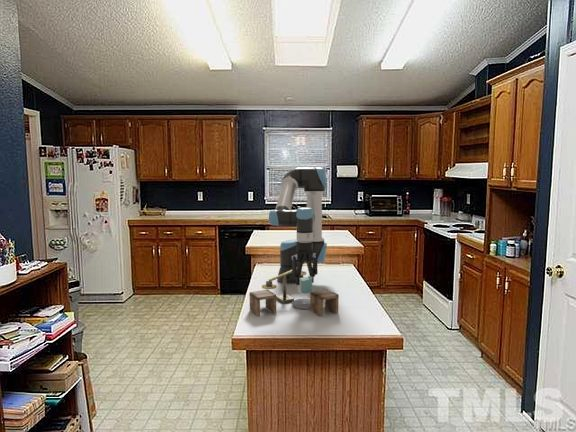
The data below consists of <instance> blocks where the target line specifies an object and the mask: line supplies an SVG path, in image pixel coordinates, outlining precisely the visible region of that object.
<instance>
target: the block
mask: <svg viewBox="0 0 576 432" xmlns="http://www.w3.org/2000/svg"><path fill="white" fill-rule="evenodd" d="M310 292H313V283H312V279H310V278H308V276H306V277H305V276H303V278H302V292H300V293H301V294H310Z"/></svg>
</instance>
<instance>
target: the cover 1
mask: <svg viewBox="0 0 576 432" xmlns="http://www.w3.org/2000/svg"><path fill="white" fill-rule="evenodd" d="M276 296H277V294H275V292H273V291H271V290H270V289H263V290H256V291H255V290H254V291H249V312H251V313H252V314H253V315H254V316H255V317H257V318H260V317H261V301H263V300H264V301H265V309H267V310H268V311H269V312H270V313H272V314H273V315H276V314H277V300H276Z"/></svg>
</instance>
